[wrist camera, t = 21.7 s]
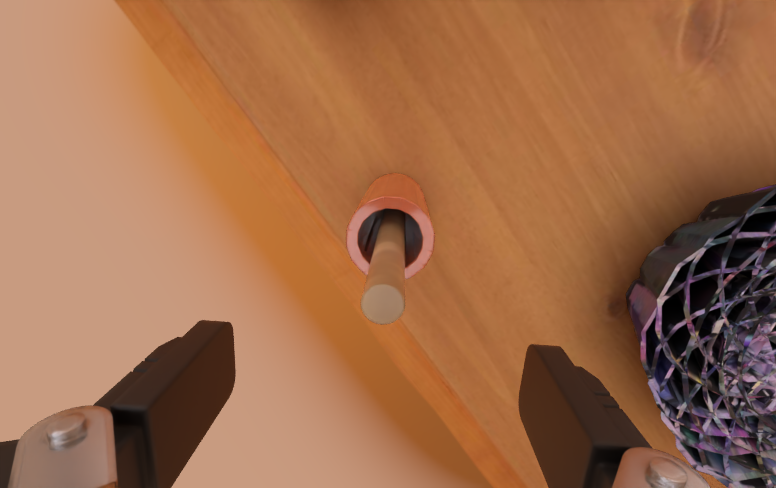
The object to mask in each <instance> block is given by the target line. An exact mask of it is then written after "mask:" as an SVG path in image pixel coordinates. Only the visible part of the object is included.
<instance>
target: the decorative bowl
mask: <svg viewBox="0 0 776 488" xmlns="http://www.w3.org/2000/svg"><path fill="white" fill-rule="evenodd" d="M626 298H627V305H628V310H629V313H630V316H631V319H632V322H633V325H634V330H635V333H636V336H637V339H638V341H639V344H640V347H641V363H642V365H643V368H644V370H645V372H646V375H647V377H648V379H649V381H648V385H649V387H650V389H651V392H652V394H653V397H654V399H655V401H656V404H657V406H658V408H659V409H660V410H661V420H662V421H663V422H664V423H665V424H666V426H667V427H668V428H669V429H670V430H671V432H672V433H673V434H674V435H675V437H676V447H677V448H678V449H679V451H680V452H681V453H682V454H683V456H684V457H685V458H686V459H687V460H688V462H689V463H690V464H691V465H692V466H693V468H694V469H695V470H697V471H700V472H703V473H706V474H709V475H712V476H714V477H715V478H716V479H717V480H719V481H720V482H721V483H722V484H724V485H725V486H726V487H728V488H776V185H772V186H768V187H763V188H759V189H757V190H755V191H753V192H750V193H745V194H741V195H736V196H731V197H726V198H723V199H719V200H715V201H712V202H710V203H709V205H708V206H707V207H706V208H705V209H704V210H703V211H702V212H701V214H700V215H699V218H698V220H697V222H694V223H687V224H683V225H681V226H680V227H679V228H678V229H676V230H675V231H674V232H673V233H672V234H671V235H670V236H669V237H668V238H667V239H666V240H665V241H664V245H663V246H659V247H656V248H655V249H654V250H653V251H652V252H650V253H649V254H648V255H647V257H646V259H645V261H644V263H643V264H642V266H641V268H640V278H639V279H637V280H635V281H633V282H632V284H631V286H630V288H629V290H628V291H627V293H626Z"/></svg>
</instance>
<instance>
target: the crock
mask: <svg viewBox="0 0 776 488" xmlns="http://www.w3.org/2000/svg"><path fill="white" fill-rule="evenodd" d="M384 209H399V210H401V211H403V212H405V279H408V278H411V277H412V276H414V275H415V274H417V273H418V272H419V271H420V270H421V269H423V268H424V267H425V266H426V264H427V263H428V261H429V259H430V257H431V255H432V253H433V250H434V241H435V233H434V229H433V226H432V222H431V219H430V215H429V212H428V208H427V205H426V202H425V198H424V195H423V192H422V189H421V188H420V186H419V185H418V184H417V183H416V182H415V181H414V180H413V179H412V178H410V177H409V176H406V175H404V174H399V173H391V174H386V175H383V176H381V177H379V178H378V179H377V180H375V181H374V182H373V183H372V184H371V185H370V187H369V189H368V190H367V192H366V194H365V195H364V197H363V199H362V200H361V202H360V204H359V205H358V207H357V209H356V211H355V212H354V214H353V216H352V218H351V220H350V222H349V224H348V226H347V230H346V247H347V250H348V252H349V255H350V258H351V260H352V261H353V263H354V264H355V265H356V266H357V267H358V268H359V269H360V270H361V271H362V272H363V273H364V274H365V275H367V274H368V270H369V267H370V263H371V259H372V255H373V251H374V247H375V243H376V239H377V235H378V231H379V227H380V223H381V219H382V215H383V211H384Z"/></svg>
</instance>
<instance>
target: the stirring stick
mask: <svg viewBox="0 0 776 488" xmlns="http://www.w3.org/2000/svg"><path fill="white" fill-rule="evenodd" d="M361 309H362V311H363V313H364V315H365V316H366V317H367V318H368V319H369V320H370V321H372V322H374V323H377V324H390V323H393V322H395V321H396V320H398V319H399V318H400V317H401V315H402V314H403V312H404V309H405V212H403V211H401V210H399V209H384V211H383V215H382V219H381V223H380V227H379V231H378V235H377V239H376V243H375V247H374V251H373V255H372V259H371V263H370V267H369V270H368V274H367V278H366V282H365V286H364V290H363V294H362V298H361Z"/></svg>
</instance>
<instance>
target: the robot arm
mask: <svg viewBox="0 0 776 488" xmlns="http://www.w3.org/2000/svg"><path fill="white" fill-rule="evenodd" d="M234 382H235V355H234V336H233V327H232V325H231V323H230V322H220V321H206V320H202V321H199V322H198V323H197V324H196V325H195V326H194V327H193V328H191V329H190V330H189V331H188V332H187V333H186V334H185V335H184V336H183V337H177V338H175V339H173V340H171V341H169V342H167V343H165V344H163V345H161V346H159V347H158V348H157V349H155V350H154V351H153V352H152V353H151V354H150V355H149V356H148V357H147V358H145V361H142V362H141V363H140V364H139V365H138V366H136V367H135V368H134V370H133V372H130V373H129V374H127V375H126V376H125V377H124V378H123V379H122V380H121V381H120V382H118V383H117V384H116V385H115V386H114V387H113V388H112V389H111V390H110V391H109V392H107V393H106V394H105V395H104V396H103V397H102V398H101V399H99V400H98V401H97V402H96V403H95V404H94V405H93V406H81V407H75V408H71V409H67V410H64V411H61V412H58V413H56V414H53V415H51V416H49V417H47V418H45V419H43V420H41V421H40V422H38V423H37V424H35V425H34V426H32V427H31V428H30V429H29V430H27V431H26V432H25V433H24V434H23V436H22V437H21V438H20V439H19V440H12V441H6V442H0V488H171V487H172V485H173V484H174V482H175V481H176V479H177V478H178V476H179V474H180V473H181V471H182V470H183V468H184V467H185V465H186V464H187V462H188V460H189V459H190V457H191V456H192V454H193V453H194V451H195V449H196V448H197V446H198V445H199V443H200V442H201V440H202V439H203V437H204V436H205V434H206V433H207V431H208V430H209V428H210V426H211V425H212V423H213V422H214V420H215V419H216V417H217V416H218V414H219V412H220V411H221V409H222V408H223V406H224V405H225V403H226V402H227V400H228V399H229V397H230V395H231V393H232V390H233V387H234ZM519 412H520V417H521V420H522V423H523V425H524V428H525V430H526V433H527V435H528V437H529V440H530V442H531V445H532V447H533V450H534V452H535V455H536V457H537V460H538V462H539V465H540V467H541V470H542V472H543V475H544V477H545V479H546V482H547V484H548V487H549V488H710V486H709V484H708V483H707V482H706V480H705V479H704V478H703V477H702V476H701V475H700V474H699V473H698V472H697V471H695V470H694V469H693V468H692V467H690V466H689V465H688V464H686V463H685V462H683V461H681V460H680V459H678V458H676V457H674V456H672V455H670V454H667V453H665V452H663V451H659V450H656V449H652V447H651V446H650V445H649V443H648V442H647V441H646V440H645V438H644V437H643V436H642V434H641V433H640V432H639V431H638V429H637V428H636V427H635V425H634V424H633V423H632V422H631V420H630V419H629V418H628V416H627V415H626V414H625V413H624V411H623V410H622V409H619V405H618V404H617V402H616V401H615V400H614V398H613V397H611V396H610V393H609V392H608V391H607V389H606V388H605V387H604V386H603V384H602V383H601V382H600V380H599V379H597V378H596V377H595V376H593V375H592V374H591V373H589V372H588V371H586V370H585V369H584V368H582V367H577V366H574V364H573V363H572V361H571V360H570V359H569V357H568V356H567V355H566V353H565V352H564V350H563V349H562V348H561V347H559V346H548V345H534V344H531V345H529V347H528V349H527V352H526V358H525V363H524V369H523V375H522V381H521V386H520V392H519Z"/></svg>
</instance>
